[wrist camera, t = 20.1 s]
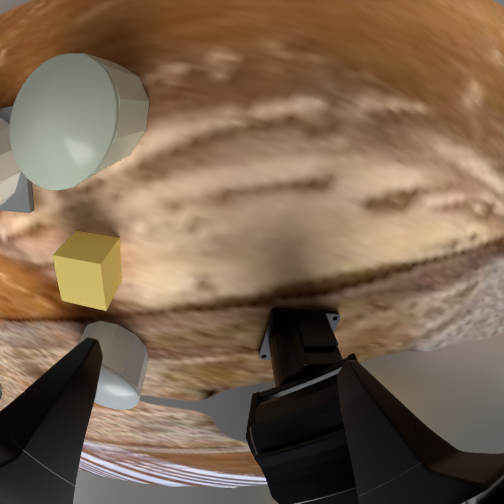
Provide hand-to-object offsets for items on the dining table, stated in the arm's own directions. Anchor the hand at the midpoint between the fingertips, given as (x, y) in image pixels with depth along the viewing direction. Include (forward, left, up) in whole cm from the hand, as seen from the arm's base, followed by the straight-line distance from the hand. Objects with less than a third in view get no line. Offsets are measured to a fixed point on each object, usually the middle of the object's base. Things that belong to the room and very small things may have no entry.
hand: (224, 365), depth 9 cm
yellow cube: (-4, +10, -12) cm, 16 cm away
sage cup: (+7, +10, -12) cm, 17 cm away
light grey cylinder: (-15, +10, -12) cm, 22 cm away
